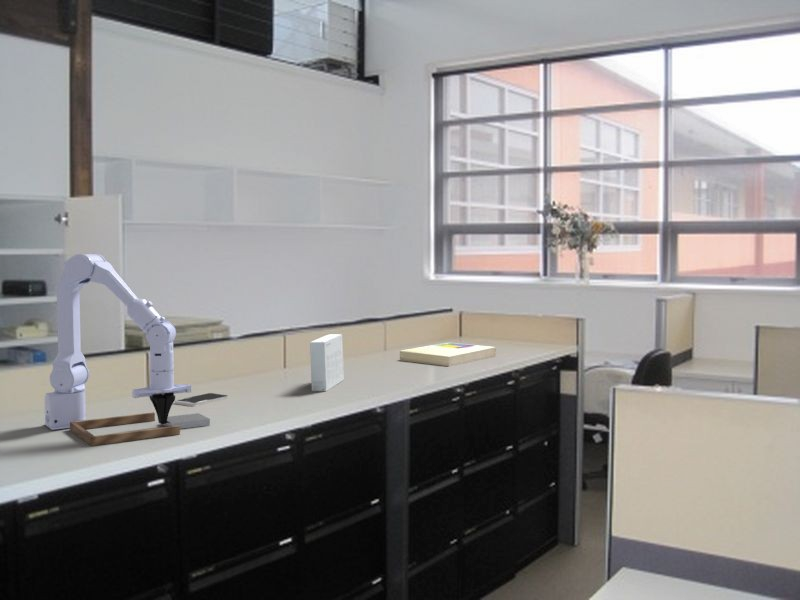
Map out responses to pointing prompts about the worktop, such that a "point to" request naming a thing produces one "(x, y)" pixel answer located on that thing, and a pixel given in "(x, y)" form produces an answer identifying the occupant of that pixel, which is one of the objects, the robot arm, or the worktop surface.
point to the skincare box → (326, 362)
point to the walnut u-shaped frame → (92, 440)
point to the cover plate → (188, 421)
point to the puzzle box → (447, 354)
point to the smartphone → (201, 399)
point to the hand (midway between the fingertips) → (162, 423)
